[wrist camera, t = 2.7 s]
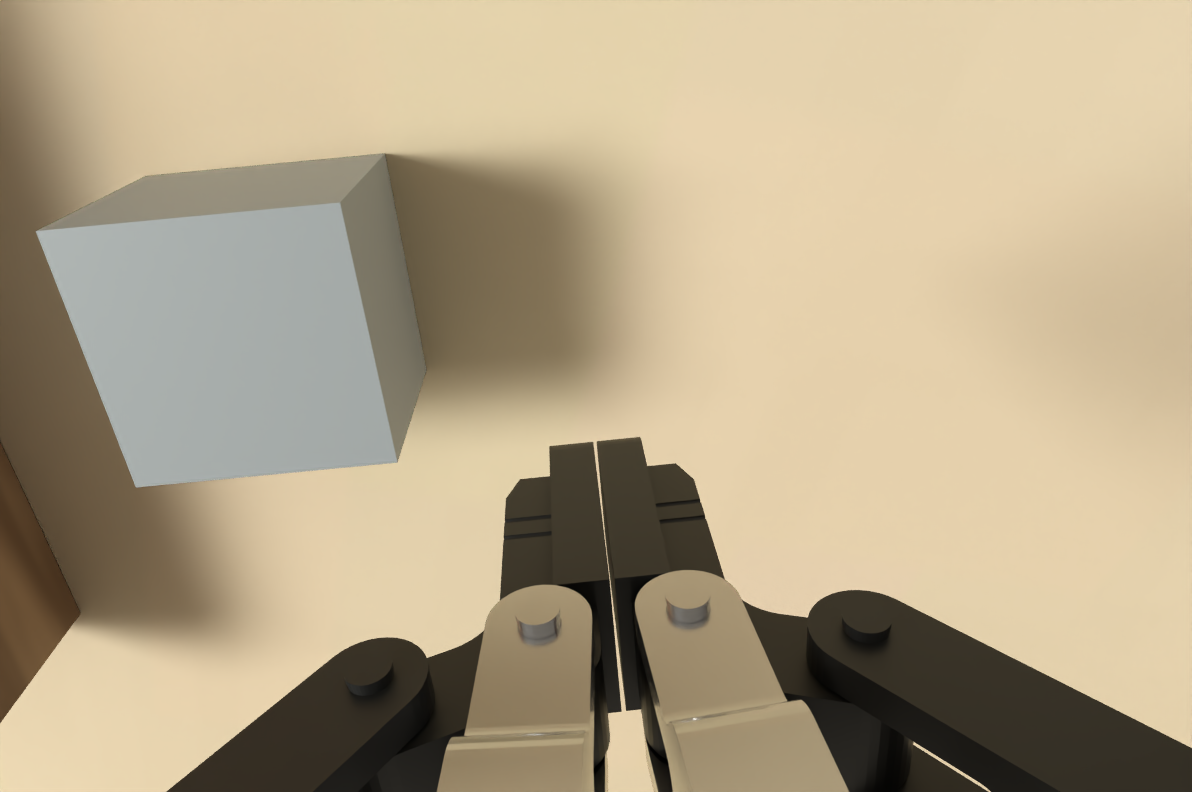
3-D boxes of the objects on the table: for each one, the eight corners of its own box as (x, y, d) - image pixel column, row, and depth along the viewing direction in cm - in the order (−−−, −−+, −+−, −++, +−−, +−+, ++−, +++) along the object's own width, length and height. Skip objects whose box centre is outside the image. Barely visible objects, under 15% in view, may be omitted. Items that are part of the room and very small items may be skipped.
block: (385, 152, 25) (339, 202, 19) (426, 368, 28) (397, 462, 23) (147, 175, 25) (35, 231, 19) (215, 388, 28) (136, 487, 22)
